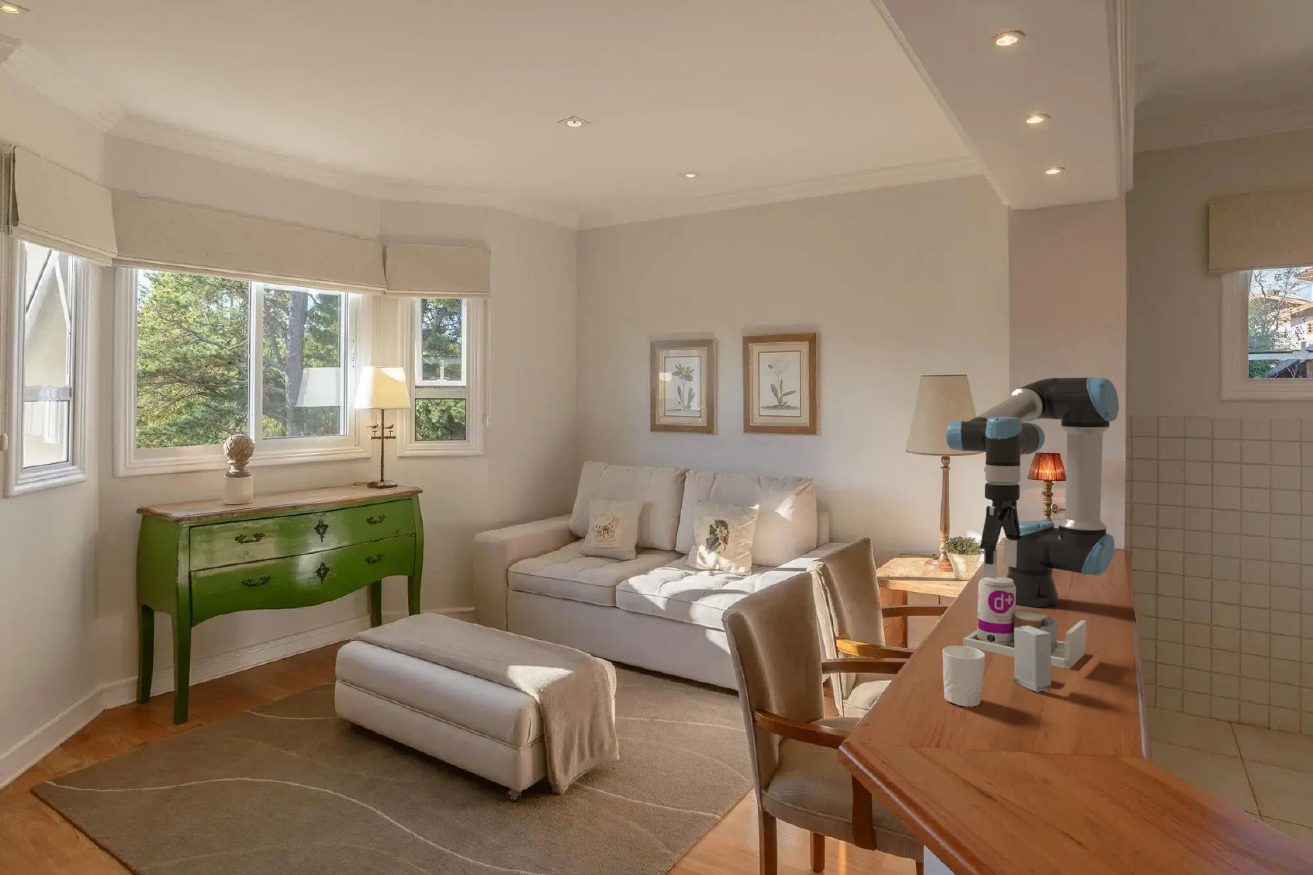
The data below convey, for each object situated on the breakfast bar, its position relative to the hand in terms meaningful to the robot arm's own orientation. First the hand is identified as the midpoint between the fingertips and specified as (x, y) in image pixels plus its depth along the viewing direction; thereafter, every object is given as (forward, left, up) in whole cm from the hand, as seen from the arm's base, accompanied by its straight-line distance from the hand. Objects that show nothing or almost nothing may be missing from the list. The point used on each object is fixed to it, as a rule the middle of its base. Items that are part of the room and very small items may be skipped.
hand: (1000, 571), depth 186 cm
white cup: (+36, +5, -19) cm, 41 cm away
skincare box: (+19, +13, -19) cm, 30 cm away
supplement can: (0, -1, -17) cm, 17 cm away
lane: (0, +6, -19) cm, 20 cm away
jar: (0, +7, -18) cm, 19 cm away
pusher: (0, +11, -17) cm, 20 cm away
